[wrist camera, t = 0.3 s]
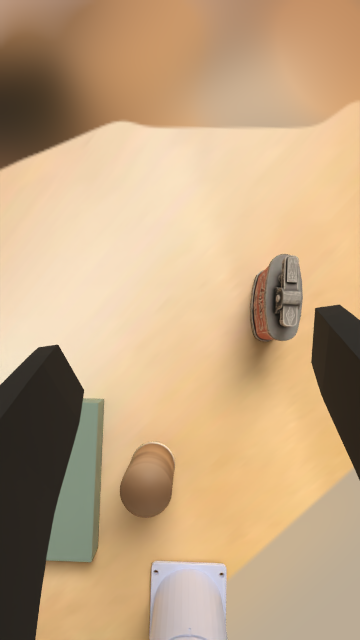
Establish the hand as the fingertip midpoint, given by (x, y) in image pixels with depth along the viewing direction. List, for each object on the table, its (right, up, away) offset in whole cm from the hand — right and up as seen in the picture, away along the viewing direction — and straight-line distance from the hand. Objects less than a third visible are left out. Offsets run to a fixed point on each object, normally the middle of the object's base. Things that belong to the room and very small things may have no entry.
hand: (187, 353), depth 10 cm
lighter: (+9, +2, +29) cm, 31 cm away
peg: (-3, -14, +28) cm, 31 cm away
